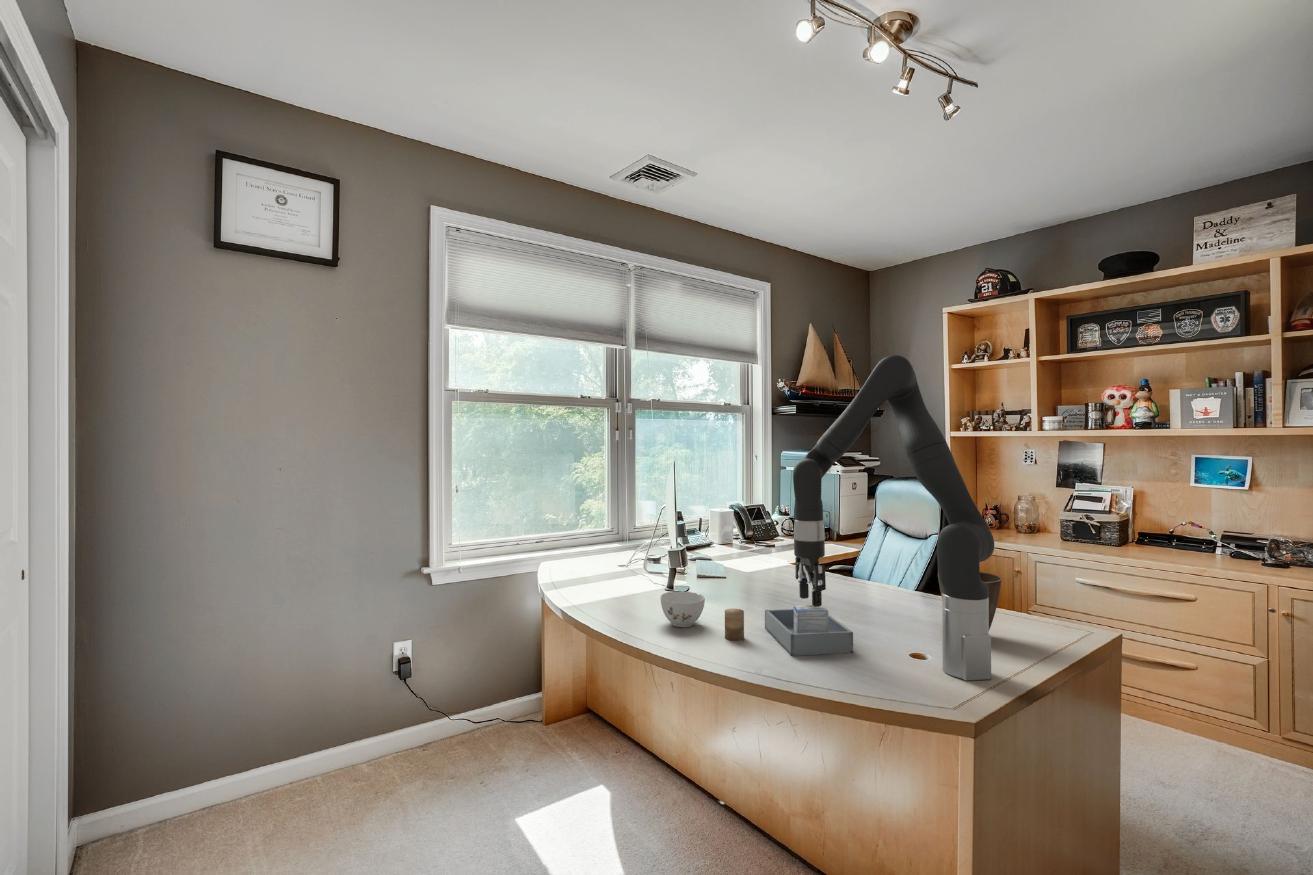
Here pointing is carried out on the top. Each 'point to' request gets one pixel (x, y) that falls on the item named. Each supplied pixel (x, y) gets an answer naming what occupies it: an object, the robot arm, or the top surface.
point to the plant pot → (994, 591)
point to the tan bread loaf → (734, 624)
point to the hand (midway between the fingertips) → (810, 602)
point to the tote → (807, 635)
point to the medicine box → (810, 619)
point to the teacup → (682, 607)
